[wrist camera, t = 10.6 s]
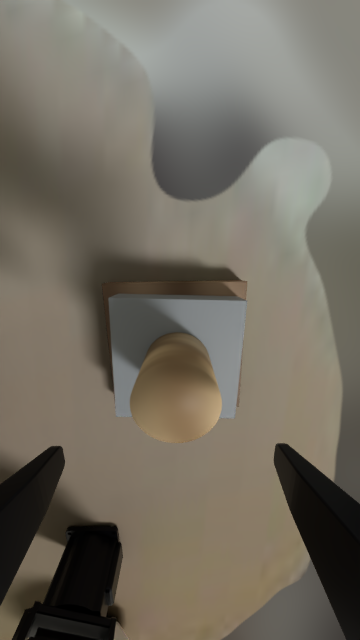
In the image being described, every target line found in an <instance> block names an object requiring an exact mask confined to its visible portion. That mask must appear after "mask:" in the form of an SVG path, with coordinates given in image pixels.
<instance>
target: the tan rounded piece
mask: <svg viewBox="0 0 360 640" xmlns="http://www.w3.org/2000/svg"><path fill="white" fill-rule="evenodd" d="M130 410H131V414H132V417H133V419H134V421H135V422H136V424H137V425H138V426H139V427H140V429H141V430H143V431H144V432H145V433H146V434H148V435H149V436H151V437H153V438H155V439H158V440H160V441H164V442H170V443H183V442H189V441H192V440H195V439H198V438H200V437H201V436H203V435H205V434H206V433H207V432H209V431H210V430H211V429H212V428H213V427H214V425H215V424H216V422H217V421H218V419H219V417H220V414H221V410H222V398H221V394H220V391H219V387H218V384H217V380H216V377H215V374H214V370H213V367H212V364H211V360H210V357H209V354H208V351H207V349H206V347H205V346H204V344H203V343H202V342H201V341H200V340H198V339H197V338H196V337H194V336H192V335H190V334H186V333H181V332H174V333H168V334H165V335H163V336H161V337H159V338H158V339H156V340H155V341H154V342H153V343H152V344H151V346H150V347H149V349H148V351H147V354H146V356H145V359H144V361H143V364H142V366H141V369H140V371H139V374H138V377H137V379H136V382H135V384H134V387H133V389H132V392H131V396H130Z"/></svg>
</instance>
